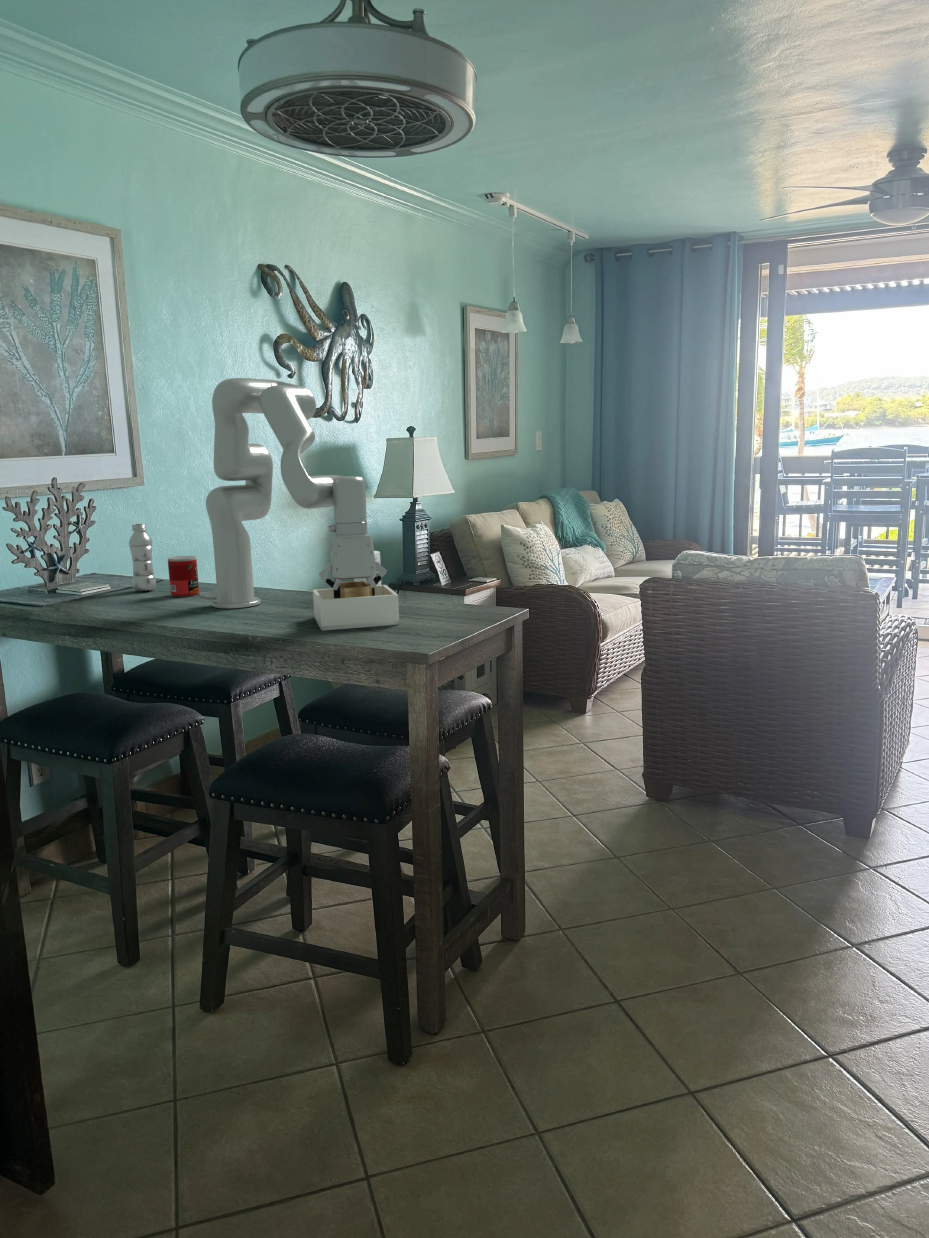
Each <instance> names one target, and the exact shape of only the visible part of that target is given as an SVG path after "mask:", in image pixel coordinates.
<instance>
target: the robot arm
mask: <svg viewBox="0 0 929 1238" xmlns="http://www.w3.org/2000/svg"><path fill="white" fill-rule="evenodd" d="M212 393H213V394H212V399H211V407H212V414H213V422H214V435H213V436H214V438H213V439H214V440H213V470H214V473H215V474H214V475H216V477H217V478H218V479H220V480H222V481H227V482H238V481H239V482H241V481H244V482H245V483H244V484H233V485H232V484H231V485H222V486H219V487H218V486H217V487H215V488H213V489H212V490H211V491H209V492H208V494H207V495H206V498H205V499H206V500H205V509H206V511H207V515H208V520H209V523H210V527H211V535H212V546H213V557H214V559H213V560H214V567H215V568H214V569H215V583H216V587H215V590H213V589H212V590H211V591H199V599H200V600H205V601H206V600H213V601H211V606H212V607H213V608H217V609H242V608H243V609H244V608H249V607H250V608H251V607H255V606H258V605H259V604H261V598H259V597H257V596H255V588H254V576H253V575H254V573H253V560H252V547H251V546H252V545H251V539H250V535H249V532H248V530H247V529H246V527H245V526H244V524H243V522H247V521H256V520H260V519H263V518H265V517H266V516H267V515H268V514H269V512H270V510H271V503H272V491H273V477H274V476H273V473H274V463H273V457H272V455H271V453H270V451H269V450H268V448H266V447H265V446H264V445H262V444H260V443H249V436H250V430H249V425H248V422H247V419H246V418H245V416H244V415H243V414H263V416H264V418H265V419H266V421H267V423H268V424H269V426H270V428H271V430H272V432H273V434H274V436H275V438H276V439H277V442H278V443H279V445H280V447H281V448H282V452H281V457H280V475H281V479H282V481H283V484H284V486H285V488H286V490H287V491H288V493H289V494H290V496H291V498H292V499H293V501H294V502H295V503H296V504H297V505H298V506H299V507H302V508H303V509H307V510H310V509H312V510H313V509H320V508H321V509H322V508H333V518H334V522H333V524H331V525H328V527H327V528H328V532H332V533H334V535H333V536H332V538H331V546H330V562H329V563H327V565H326V566H325V567H324V568H323V569H322V570H321V571H320V572H319V573H318V576H319V577H320V578H321V579H322V580H323V581H324V582H325V584H327V585H328V586H329V587H330V588H331V589H332V588H333V593H334V599H337V598H340V590H339V585H340V583H341V582H343V580H354V579H357V578H366V580H367V581H368V583H369V585H370V586H372V596H375V589H374V587H376V585H377V584H378V583H379V581H380V580H381V579H382V578H383V577H384V576H385V575H386V574H387V572H388V570H387V568H385V567H384V566H383V565H382V564H381V565H380V564H379V563H377V562H376V561H375V556H374V551H375V550H374V542H373V539H372V534H368V521H367V520H368V519H367V496H366V495H367V494H366V482H365V479H364V477H361V476H357V475H356V476H355V475H350V476H349V475H347V476H345V475H343V476H342V475H339V474H325V475H321V474H320V475H309V473H307V470H306V469H305V466H303V463H302V461H301V454H302V453H304V452H305V451H307V450H308V449H309V448H310V447H311V446H312V445H313V444H314V442H315V439H316V434H315V431H314V430H313V428H312V427H311V424H310V423H309V421H310V419H312V418H313V417H314V415H315V414H316V410H317V402H316V398H315V396H314V394H313V393H312V391H310V390H309V389H308V388H306V387H305V386H302V385H297V384H293V383H289V382H285V381H281V380H274V379H266V378H265V379H264V378H263V379H262V378H261V379H260V378H252V377H251V378H249V377H233V378H232V377H231V378H227V379H224V380H222V381H220V382H219V383H218V384H217V385H216V387H215V388H214V390H213V392H212ZM308 420H309V421H308ZM375 567H376V568H377V569H378V570H379V573H378V574H377V575H376V576H375V577H374V578H372V577H373V576H374V575H375V572H376V568H375ZM328 573H331V575H332V576H333V578H334V579H333V580H332V579H331V578H329V576H328ZM382 580H383V579H382Z"/></svg>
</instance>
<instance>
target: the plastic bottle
mask: <svg viewBox="0 0 929 1238" xmlns="http://www.w3.org/2000/svg"><path fill="white" fill-rule="evenodd" d="M131 529H132V532H133V533H132V534H131V536H130V538H129V541H128V545H129V550H130V554H131V560H132V575H133V576H132V580H131V583H132V588H133V589H134V591H137V592H142V591H146V590H149V591H152V589H153V590H154V589H155V588H156V585H157V584H156V583H157V581H156V580H157V579H156V576H155V573H154V567H153V555H152V554H153V540H152V538H151V536H150V535H149V534H148V533H147V532H146V531H147V528H146V523H133V524H132V525H131ZM146 592H147V591H146Z"/></svg>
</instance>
